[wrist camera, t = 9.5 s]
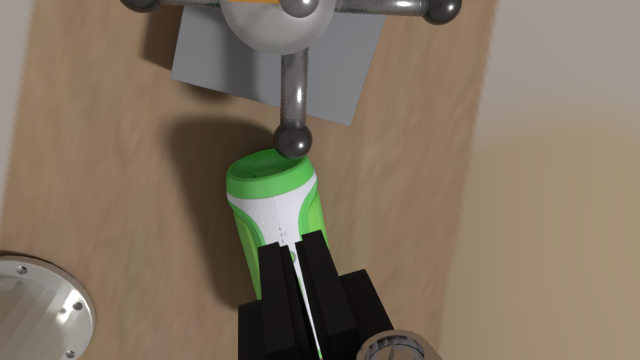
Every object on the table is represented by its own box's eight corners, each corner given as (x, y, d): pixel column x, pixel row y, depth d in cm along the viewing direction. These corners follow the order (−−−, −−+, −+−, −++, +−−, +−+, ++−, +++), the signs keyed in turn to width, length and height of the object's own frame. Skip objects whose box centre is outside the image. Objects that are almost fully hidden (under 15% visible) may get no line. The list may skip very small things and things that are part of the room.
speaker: (222, 155, 40) (216, 190, 33) (307, 137, 40) (318, 168, 33) (267, 319, 47) (270, 376, 40) (339, 303, 47) (354, 357, 40)
